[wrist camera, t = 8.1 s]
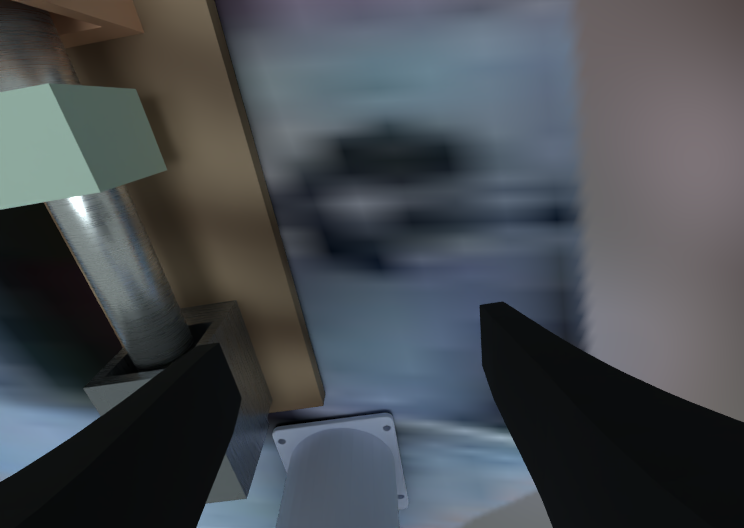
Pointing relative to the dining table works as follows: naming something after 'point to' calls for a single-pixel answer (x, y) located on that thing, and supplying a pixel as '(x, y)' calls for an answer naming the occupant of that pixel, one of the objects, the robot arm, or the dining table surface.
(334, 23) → the dining table surface
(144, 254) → the tube
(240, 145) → the tube stand
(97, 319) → the dining table surface
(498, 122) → the dining table surface
